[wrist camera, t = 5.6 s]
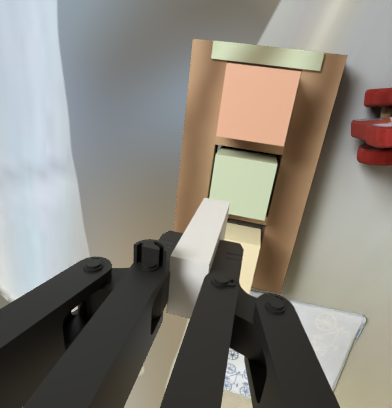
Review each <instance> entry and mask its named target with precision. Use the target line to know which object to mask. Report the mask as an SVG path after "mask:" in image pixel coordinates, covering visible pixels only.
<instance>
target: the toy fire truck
mask: <svg viewBox="0 0 392 408" xmlns="http://www.w3.org/2000/svg"><path fill="white" fill-rule="evenodd" d="M364 105H365V106H366V107H378V106H382V109H381V114H380V118H376V119H362V120H353V121H352V123H351V136H352V137H355V138H358V139H360V140H364V141H366V144H365V145H361V146H359V148H358V152H357V160H358V161H359V162H361V163H364V164H369V165H392V88H382V89H370V90H367V91H366V93H365V99H364Z"/></svg>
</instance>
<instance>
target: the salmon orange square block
mask: <svg viewBox="0 0 392 408" xmlns="http://www.w3.org/2000/svg"><path fill="white" fill-rule="evenodd" d="M300 75H301V71H293V70H284V69H276V68H267V67H259V66H250V65H242V64H233V63H227V64H226V71H225V78H224V85H223V92H222V99H221V105H220V112H219V119H218V126H217V133H216V136H219V137H225V138H232V139H238V140H245V141H251V142H258V143H264V144H271V145H277V146H283V147H284V143H285V139H286V135H287V131H288V126H289V122H290V118H291V113H292V109H293V105H294V101H295V96H296V92H297V88H298V83H299V79H300Z"/></svg>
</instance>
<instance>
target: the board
mask: <svg viewBox="0 0 392 408" xmlns="http://www.w3.org/2000/svg"><path fill="white" fill-rule="evenodd" d="M347 56H348V55H339V54H329V53H325V52H315V51H306V50H297V49H288V48H278V47H269V46H260V45H250V44H241V43H231V42H222V41H208V40H199V39H193V45H192V55H191V64H190V75H189V85H188V94H187V104H186V114H185V123H184V133H183V142H182V152H181V161H180V171H179V181H178V192H177V200H176V211H175V220H174V230H173V231H175V232H180V233H184V232H185V230H186V228H187V227H188V225H189V223H190V221H191V220H192V218H193V216H194V215H195V213H196V211H197V209H198V208H199V206H200V204H201V203H202V201H203V199H204V198H209V196H210V189H211V183H212V176H213V169H214V162H215V155H216V153H217V148H218V145H222V146H229V147H235V148H241V149H247V150H254V151H260V152H266V153H273V154H279V159H278V163H277V169H276V173H275V178H274V182H273V186H272V191H271V195H270V199H269V204H268V208H267V212H266V217H265V221H263V220H258V219H252V218H247V217H242V216H237V215H232V214H228V218H231V219H236V220H241V221H247V222H252V223H257V224H262V225H263V229H262V233H261V246H260V251H259V255H258V259H257V264H256V268H255V272H254V276H253V281H252V285H251V287H253V288H257V289H262V290H266V291H271V292H275V293H281V290H282V286H283V283H284V279H285V276H286V272H287V269H288V265H289V262H290V258H291V254H292V251H293V247H294V244H295V240H296V237H297V233H298V230H299V226H300V223H301V219H302V215H303V212H304V208H305V205H306V201H307V198H308V194H309V191H310V187H311V184H312V180H313V176H314V173H315V169H316V166H317V162H318V159H319V155H320V152H321V148H322V145H323V141H324V137H325V134H326V130H327V127H328V123H329V120H330V116H331V113H332V109H333V106H334V102H335V98H336V95H337V91H338V88H339V84H340V81H341V77H342V74H343V70H344V66H345V63H346V59H347ZM227 63H233V64H242V65H250V66H259V67H267V68H276V69H284V70H293V71H301V75H300V79H299V83H298V88H297V92H296V96H295V101H294V105H293V109H292V113H291V118H290V122H289V126H288V131H287V135H286V139H285V143H284V147H283V146H277V145H271V144H264V143H258V142H251V141H245V140H238V139H232V138H225V137H219V136H216V133H217V126H218V119H219V112H220V105H221V99H222V92H223V85H224V78H225V71H226V64H227Z"/></svg>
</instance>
